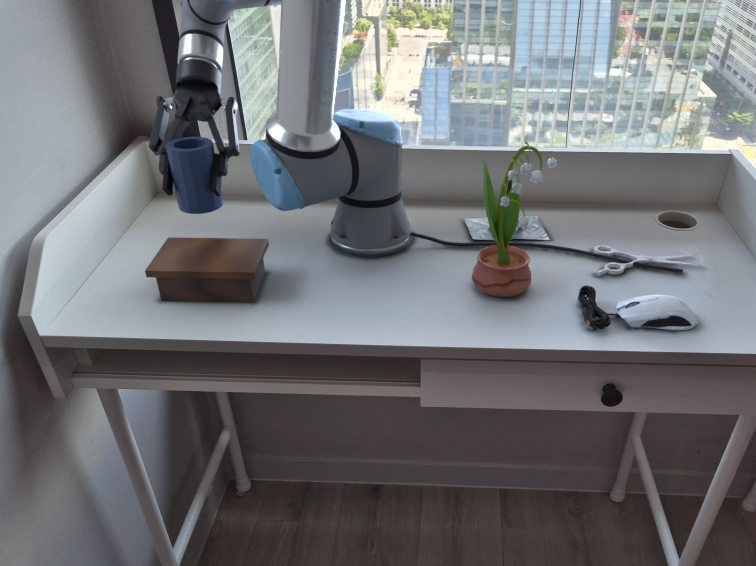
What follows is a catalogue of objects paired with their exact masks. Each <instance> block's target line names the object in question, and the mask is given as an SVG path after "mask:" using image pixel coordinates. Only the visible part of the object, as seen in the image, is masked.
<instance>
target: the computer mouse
mask: <svg viewBox="0 0 756 566" xmlns="http://www.w3.org/2000/svg"><path fill="white" fill-rule="evenodd" d="M596 298H597V292H596V289H595V288H594V287H593V286H591V285H587V284H586V285H583V286H580V289H579V290H578V295H577V300H578V302H579V303H580V305H581V314H582V317H583V321H584V322H585V323H586V326H587V327H588V328H589V329H590V330H594V329H597V330H600V331H603V330H605V328H608V327H609V326H610V325H611V323H612V320H611V316H614V317H615V318H619V319H623V320H624V321H625V322H626V323H627V324H628V325H629V326H630V328H650V329H651V328H652V329H659V330H665V331H688V330H691V329H694V327H696V326H697V324H698V322H699V319H698V317H697V315H696V313H695V312H694V311H693V309H692V308H691V307H690V306H689V305H688V304H687V303H686V302H685V301H684V300H682V299H681V298H678V297H676V296H674V295H669V294H647V295H646V294H645V295H639V296H635V297H630V298H627V299H624V300H621V301H617V304H616V308H615V309H616V310H617V311H616V312H615V313H607V312H606V311H605V310H604V309H602V308H601V307H599V306H598V304H597V302H596V301H597V299H596Z"/></svg>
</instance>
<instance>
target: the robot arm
mask: <svg viewBox="0 0 756 566" xmlns="http://www.w3.org/2000/svg"><path fill="white" fill-rule="evenodd" d="M346 1H347V0H180V26H179V27H180V29H179V41H178V51H177V67H176V81H175V92H174V93H173V95H172V96H171V97H163V96H162V95H158V96H157V97H156V98H155V99H156V100H155V101H156V107H157V109H156V113H155V116H154V121H153V125H152V130H151V133H150V137H149V142H148V148H149V149H150V151H151V152H152V153H153V154H154V155H155V156H159V157H158V158H159V159H158V171H159V173H160V175H162V189H161V190H163V191H164V193H165V194H166V195H167V196H173V193H174V183H173V178H172V173H171V169H170V164H169V159H168V154H167V149H166V144H167V143H168V142H170V141H172V140H175V139H179V138H182V136H183V133H184V132H185V130H186V128H188V127H189V126H190V124H191V122H192V123H193V122H202V123H207V125H208V128H209V130H210V133H211V135H212V138H213V142H214V143H215V146H216V149H217V151H218V153H217V152H215V153H214V158H213V174H212V191H213V192H214V194H215V195H216V196H221V193H222V178H223V177H227V175H228V170H229V168H228V167H229V160H230V158H231V157H239V156H240V153H241V152H240V144H239V143H240V142H239V133H238V126H237V125H238V124H237V114H238V110H239V105H238V103H237V101H236V99H235V98H234V97H233V96H229V97H228V98H225V97H222V95H221V93H222V82H223V81H222V79H223V74H222V73H223V64H224V63H223V62H224V61H223V59H224V44H225V31H226V26H227V24H228V22H229V20H230V18H231V16H232V15H233V12H234V11H235V10H245V9H252V8H253V9H254V8H262V7H271V6H273V7H274V6H280V24H279V45H278V49H279V50H278V71H277V72H278V73H277V93H276V95H277V96H276V111H275V112H273V113H272V114H271V115H270V116H269V117H268V119H267V120H266V123H265V138H264V139H257V140H256V141H254V143H252V144H251V146H250V150H249V151H250V152H249V157H250V165H251V168H252V173H253V175H254V177H255V178H254V179H255V180H256V182H257V185H258V187H259V189H260V191H261V193H262V194H263V195H264V197H265V199H266V200H267V201H268V203H269V204H271V205H272V207H274V208H275V209H277V210H279V211H281V212H289V211H294V210H303V209H305V208H306V207H310V206H314V205H316V204H320V203H324V202H327V201H331V200H334V199H337V203H336V208H335V211H334V215H333V218H332V220H331V222H330V225H329V226H330V227H329V228H330V242H331V244H332V246H333V247H334V248H336V249H337V250H339V251H340V252H343V253H346V254H349V255H351V256H357V257H381V256H382V257H383V256H389V255H391V254H396V253H398V252H401V251H402V250H403V251H404V250H405V249H406V248H407V247H408V246H410V244H411V243H412V239H413V238H414V237H415V238H418V239H421V240H422V239H423V240H426V241H430V242H433V243H437V244H439V245H444V246H450V247H488V246H493V245H496V243H495V241H493V242H492V241H485V242H484V241H480V242H479V241H477V242H475V241H474V242H455V241H446V240H442V239H440V238H436V237H433V236H430V235H425V234H421V233H418V232H417V233H416V232H413V230H412V226H411V222H410V220H409V216H408V214H407V210H406V208H405V205H404V202H403V171H402V170H403V168H402V167H403V165H402V163H403V162H402V161H403V155H402V154H403V145H404V144H403V143H404V142H403V137H402V136H403V135H402V126H401V123H400V121H399V120H398V119H397V118H395V117H394V116H392V115H391V114H387V113H384V112H380V111H375V110H370V109H361V108H360V109H359V108H346V109H339V110H337V111H336V112H334V109H335V100H336V90H337V82H338V74H339V72H338V71H339V66H340V65H339V64H340V63H339V62H340V55H341V47H342V36H343V28H344V19H345V9H346ZM173 107H176V108H177V109H176V112H175V113H174V119H173V121H172V123H171V124H170V126H169V128H168V124H169V120H170V113H172V112H173V111H172V110H173ZM221 108H223V110H224V113H225V122H226V131H227V132H226V133H227V141H228V146H226V144H225V141H224V138H223V136H222V133H221V130H220V128H219V126H218V125H219V124H218V121H217V119H216V117H215V115H216V113H217V112H218V111H219V110H220V109H221ZM167 128H168V130H167ZM508 246H513V247H527V248H539V249H547V250H548V249H549V250H555V251H562V252H567V253H569V252H570V253H573V254H578V255H583V256H589V257H593V258H598V259H603V260H608V261H612V262H615V263H619V264H624V263H630V262H632V261H633V260H630V259H629V260H628V259H624V258H620V257H615V256H607V255H602V254H597V253H594V252H592V251H587V250H583V249H577V248H573V247H566V246H559V245H554V244H546V243H535V242H517V241H509V244H508ZM633 266H635V267H639V268H645V269H649V270H651V269H652V270H657V271H665V272H671V273H679V274H683V273H684V268H676V267H671V266H664V265H656V264H649V263H639V262H634V263H633Z"/></svg>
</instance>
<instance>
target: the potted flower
mask: <svg viewBox="0 0 756 566" xmlns="http://www.w3.org/2000/svg"><path fill="white" fill-rule="evenodd" d="M527 150H528V154H527V153H526V152H525V151H527ZM531 151H532V152H534V153H535V154H536V155H537V157H538V160H539V170H533V171H532V169H533V168H532V164H531V163H530V158H529V157H530V154H531ZM542 154H545V155H547V156H548V157H549V159H548V160H547V162H546V163H547V165H548V169H549V170H550V169H552V168H556V167H557V166H558V165H559V164H558V163H557V159H556V158H555V157H552V156H551V155H550V154H549V153H548V152H544V151H540V150H538V148H537V147H535V146H531V145H530V144H529V142H528V141H526V140H525V141H524V146H521V147H520V148H519V149H518V150H517V151H516V152H515V153H514V154H513V156H512V157H511V159H510V161H509V163H508V164H507V168H506V170H505V173H504V177H503V181H502V184H501V188H500V193H499V196H498V197H499V198H498V201H497V198H496V194H495V191H494V187H493V183H492V180H491V176H490V173H489V168H488V165H487V163H486V161H485V160H484V159H483V160H482V171H483V205H484V209H485V213H486V217H487V219H488V223H489V226H490V229H491V232H492V235H493V238H494V240H493V241H494V242H495V243H496V245H493V246H484V247H483V248H481V249H480V250H479V251H478V252H477V253H476V260H477V261H476V263H475V265H474V266H473V269H472V274H471V281H472V282H473V284H474V285H475V287H476V288H477V289H478V290H479V291H480V292H481V293H484V294H486V295H489V296H492V297H499V298H508V297H514V296H519V295H520V294H522V293H524V292H525V291H526V290H527V289H528V288H529V287H530V286H531V284H532V271H531V268H530V266H529V265H530V262H531V256H530V255H529V253H528V252H526V251H525V250H524V249H521V248H519V247H518V246H508V244H509V242H511V240H512V239H511V238H512V236H513V234H514V233H515V231H516V228H517V225H518V227H519V228H521V227H522V228H523V229H525V227H528V226H527V224H528V219H527V218H526V217H525V216H526V214H525V213H526V212H525V210H524V207H523V206H522V204H521V202H520V195H522V190H523V185H522V184H521V183H520V178H519V177H523V176H524V177H528V176H529V177H528V178H529V182H530V183H534V185H538V184H539V185H540V184H541V181H542V180H543V176H544V175H543V173H542V172H541V171H542V168H543V157H542ZM521 155H524V156H525V157H526V159H527V162H524V160H523V158H522V157H521ZM517 159H519V161H520V162H521V165H520V164H519V162H518V161H517ZM515 164H516V166H517V168H518V172H519V173H517V171H516V170H514V166H515ZM531 171H532V172H531ZM530 172H531V173H530ZM530 175H531V176H530ZM511 179H512V181H516V180H517V182H514V183H512V188H511V190H510V191H509V193H508V195H507V186H508V180H511ZM520 209H521V210H522V214H523V216H524V217H520V218H519V220H518V217H519V216H520ZM517 223H518V224H517ZM510 239H511V240H510Z"/></svg>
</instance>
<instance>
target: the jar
mask: <svg viewBox="0 0 756 566" xmlns="http://www.w3.org/2000/svg"><path fill="white" fill-rule="evenodd" d="M166 149H167V154H168V159H169V164H170V169H171V173H172V178H173V189H174V193H175V196H176V201H177V205H178V206H177V207H178V209H179V211H180V212H182V213H184V214H190V215H203V214H208V213H212V212H215V211H217V210H219V209H220V208H222V207H223V204H224V202H223V194H222V192H221V196H216V195H215V194H214V192H213V191H212V174H213V158H214V153H216V152H215V146H214V141H213V140H212V139H211V138H208V137H204V136H184V137H181V138H179V139H175V140H172V141H170V142H168V143H167V144H166Z"/></svg>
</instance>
